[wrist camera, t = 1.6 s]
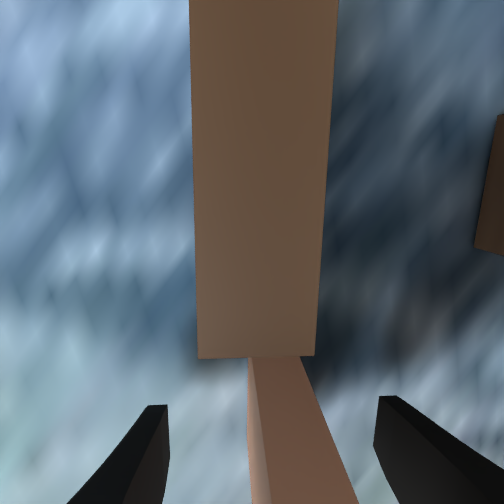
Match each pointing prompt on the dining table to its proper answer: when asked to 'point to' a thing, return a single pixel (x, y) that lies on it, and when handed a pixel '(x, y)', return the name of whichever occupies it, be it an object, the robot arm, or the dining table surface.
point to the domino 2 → (493, 198)
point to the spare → (290, 438)
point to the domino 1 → (259, 171)
